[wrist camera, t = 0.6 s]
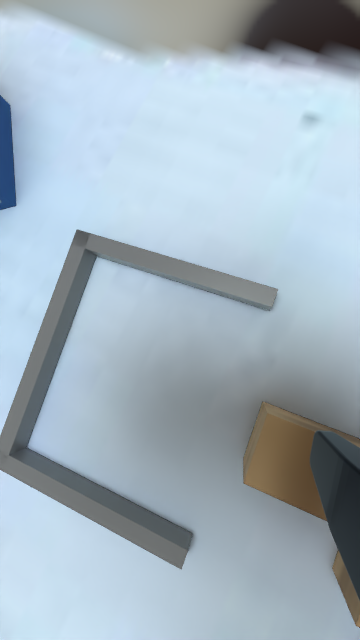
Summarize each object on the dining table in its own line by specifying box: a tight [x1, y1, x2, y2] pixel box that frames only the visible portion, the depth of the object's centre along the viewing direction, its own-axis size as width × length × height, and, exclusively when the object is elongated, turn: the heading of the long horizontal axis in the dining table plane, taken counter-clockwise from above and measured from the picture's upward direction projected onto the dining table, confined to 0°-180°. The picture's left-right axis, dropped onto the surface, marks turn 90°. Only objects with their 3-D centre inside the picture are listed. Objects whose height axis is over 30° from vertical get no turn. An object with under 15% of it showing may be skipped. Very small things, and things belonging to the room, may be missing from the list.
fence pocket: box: [0, 230, 278, 569], centre depth 21 cm, size 15×18×2 cm
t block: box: [243, 402, 360, 628], centre depth 17 cm, size 11×12×4 cm
